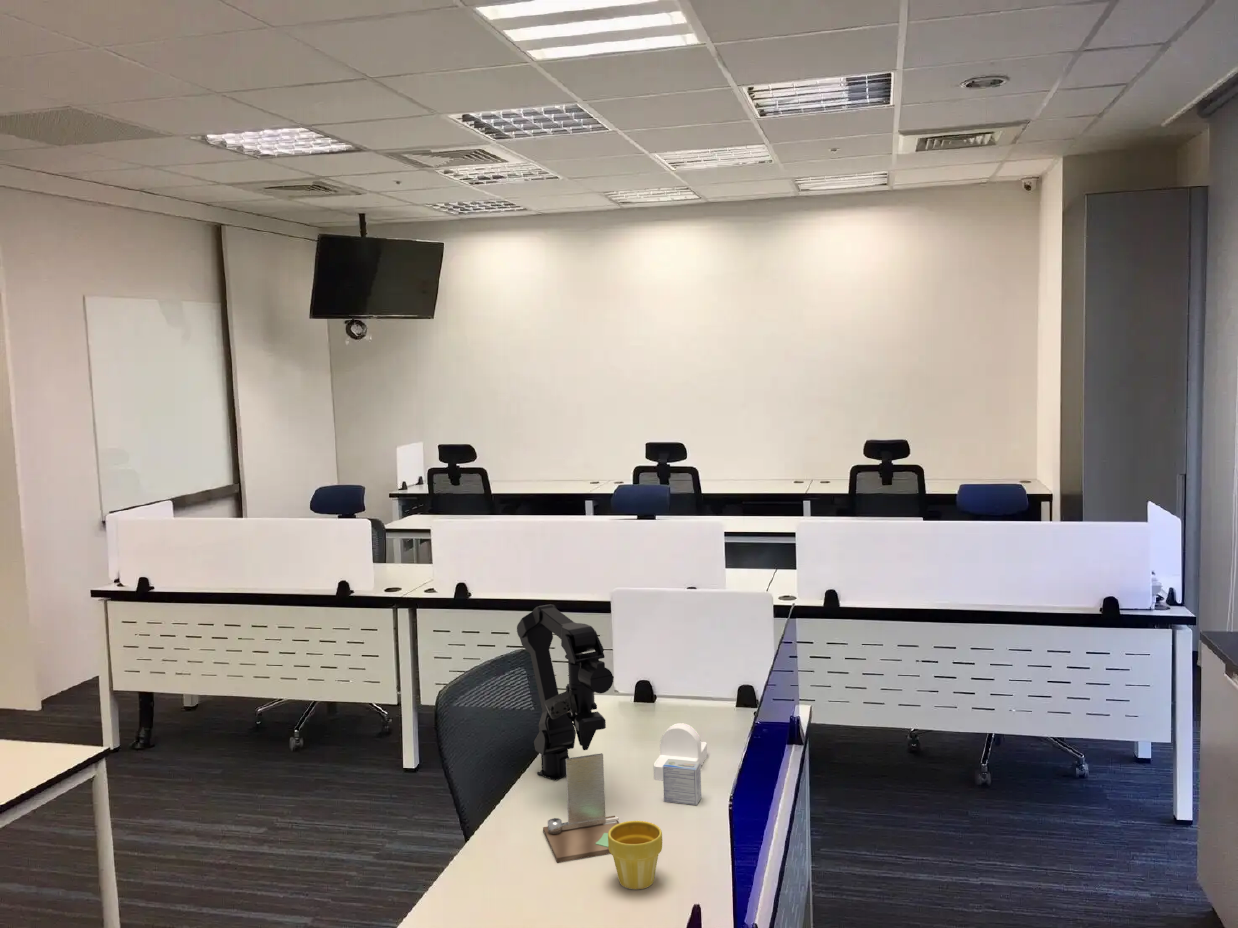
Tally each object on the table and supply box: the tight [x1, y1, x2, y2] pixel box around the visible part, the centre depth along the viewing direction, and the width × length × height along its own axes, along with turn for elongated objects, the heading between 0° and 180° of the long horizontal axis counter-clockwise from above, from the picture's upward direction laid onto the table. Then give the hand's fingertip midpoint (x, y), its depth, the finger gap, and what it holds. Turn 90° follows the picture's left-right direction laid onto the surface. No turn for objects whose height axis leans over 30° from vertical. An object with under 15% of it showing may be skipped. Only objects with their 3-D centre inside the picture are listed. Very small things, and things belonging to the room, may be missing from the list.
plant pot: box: [608, 820, 663, 890], centre depth 183 cm, size 10×10×10 cm
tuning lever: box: [547, 753, 620, 834], centre depth 203 cm, size 16×3×15 cm, turn 106°
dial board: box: [542, 815, 620, 864], centre depth 200 cm, size 16×14×1 cm
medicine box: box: [662, 759, 702, 806], centre depth 218 cm, size 8×4×9 cm, turn 71°
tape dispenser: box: [653, 722, 708, 782], centre depth 236 cm, size 10×18×11 cm, turn 162°
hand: (583, 747), depth 220 cm, fingers open, 3 cm apart
